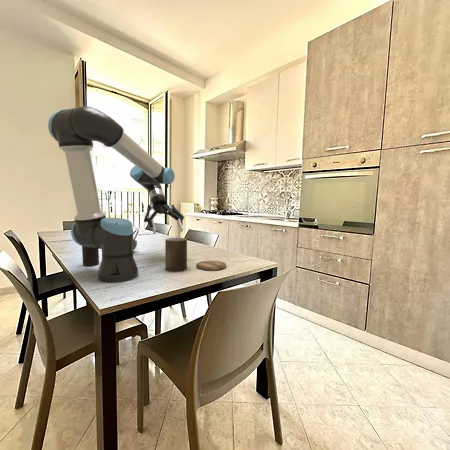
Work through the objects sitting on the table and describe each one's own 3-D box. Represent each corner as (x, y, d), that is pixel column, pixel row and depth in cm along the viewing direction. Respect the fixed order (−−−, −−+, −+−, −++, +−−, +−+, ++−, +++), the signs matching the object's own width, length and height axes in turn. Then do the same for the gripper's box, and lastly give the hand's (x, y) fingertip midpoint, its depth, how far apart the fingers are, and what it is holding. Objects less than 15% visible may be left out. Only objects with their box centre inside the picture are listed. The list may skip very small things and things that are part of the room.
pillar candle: (184, 272, 112) (185, 238, 111) (162, 271, 112) (162, 237, 111) (188, 266, 122) (188, 235, 120) (168, 265, 122) (168, 234, 120)
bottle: (92, 267, 117) (90, 223, 115) (79, 265, 119) (77, 222, 116) (102, 263, 124) (100, 221, 122) (89, 262, 125) (88, 221, 123)
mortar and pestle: (140, 252, 150) (140, 231, 149) (129, 255, 141) (129, 233, 140) (124, 250, 154) (123, 230, 152) (113, 253, 145) (112, 232, 143)
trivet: (215, 272, 112) (215, 269, 112) (190, 267, 119) (190, 264, 119) (231, 265, 124) (231, 263, 124) (207, 261, 131) (207, 258, 131)
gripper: (178, 204, 144) (190, 234, 133) (132, 204, 130) (141, 237, 120) (182, 194, 139) (194, 225, 128) (134, 193, 125) (144, 227, 115)
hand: (168, 231), depth 124 cm, fingers open, 13 cm apart
